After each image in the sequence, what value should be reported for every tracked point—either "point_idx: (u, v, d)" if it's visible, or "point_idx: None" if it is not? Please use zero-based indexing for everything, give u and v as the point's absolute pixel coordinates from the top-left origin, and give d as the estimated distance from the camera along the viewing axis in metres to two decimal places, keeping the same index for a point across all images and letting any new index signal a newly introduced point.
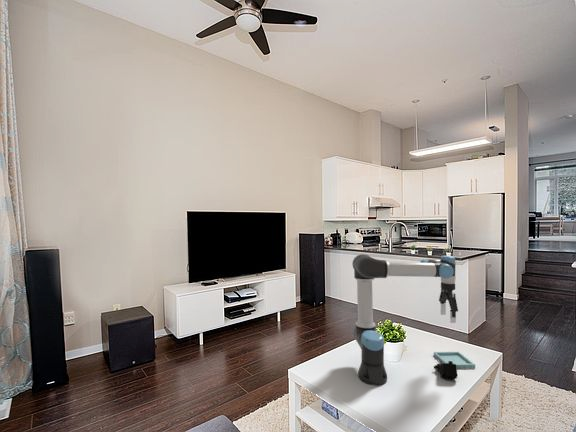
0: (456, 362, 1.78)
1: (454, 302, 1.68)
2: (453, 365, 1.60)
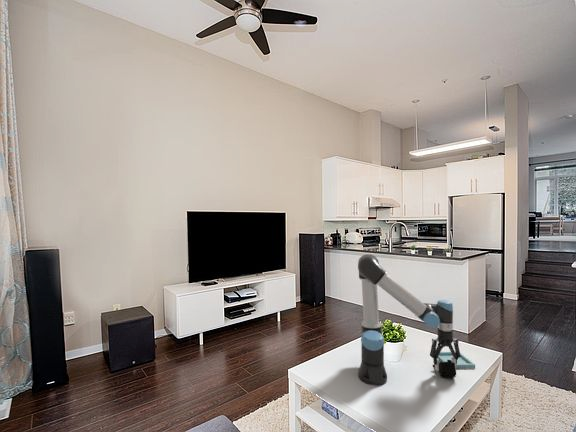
0: None
1: (432, 348, 1.65)
2: (452, 364, 1.61)
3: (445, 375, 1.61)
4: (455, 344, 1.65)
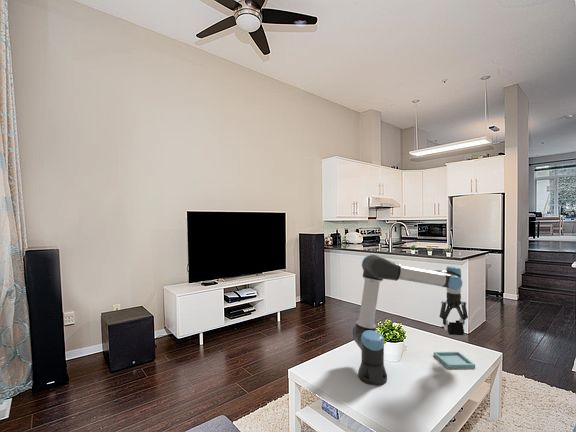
0: (456, 362, 1.78)
1: (442, 310, 1.79)
2: (460, 323, 1.75)
3: (454, 334, 1.75)
4: (463, 306, 1.79)
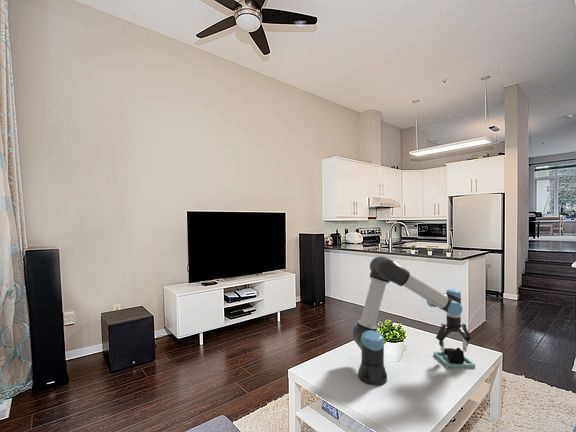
0: None
1: (440, 331, 1.79)
2: (461, 352, 1.74)
3: (454, 362, 1.75)
4: (464, 328, 1.79)
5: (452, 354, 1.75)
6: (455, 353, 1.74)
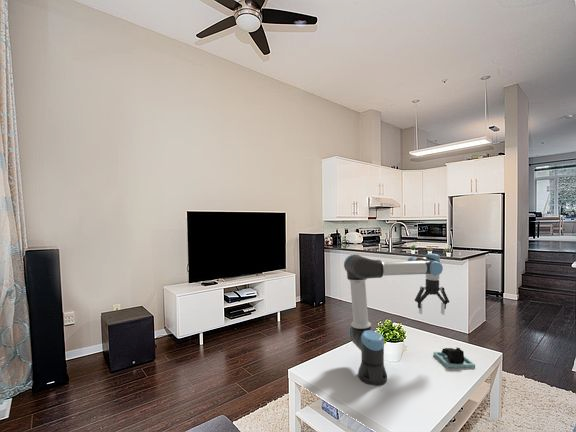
0: None
1: (418, 294, 1.83)
2: (461, 352, 1.74)
3: (454, 362, 1.75)
4: (442, 292, 1.83)
5: (452, 354, 1.75)
6: (455, 353, 1.75)
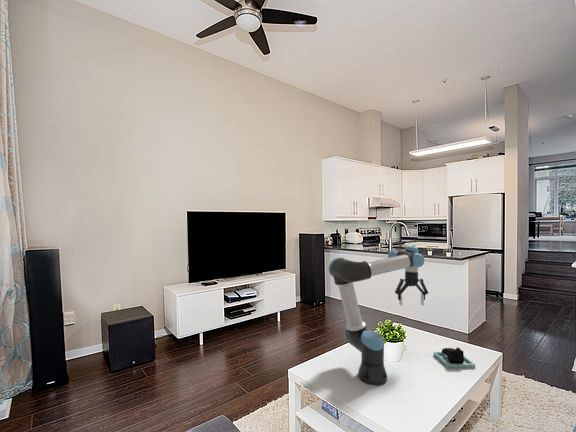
0: None
1: (398, 286, 1.87)
2: (461, 352, 1.75)
3: (454, 362, 1.75)
4: (421, 283, 1.87)
5: (452, 354, 1.75)
6: (455, 353, 1.75)
